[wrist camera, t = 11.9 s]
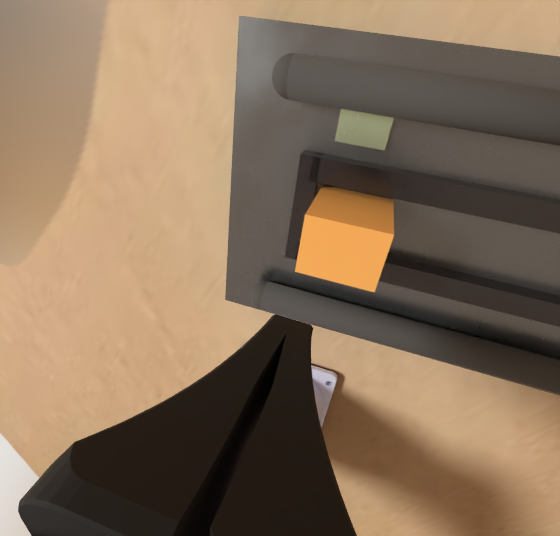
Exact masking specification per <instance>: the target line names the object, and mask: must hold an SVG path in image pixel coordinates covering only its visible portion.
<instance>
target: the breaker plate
mask: <svg viewBox="0 0 560 536" xmlns="http://www.w3.org/2000/svg"><path fill="white" fill-rule="evenodd" d="M289 53H298V54H305V55H312V56H319V57H326V58H333V59H340V60H347V61H354V62H361V63H368V64H375V65H382V66H389V67H396V68H402V69H409V70H416V71H423V72H430V73H437V74H444V75H451V76H458V77H465V78H472V79H479V80H486V81H493V82H500V83H507V84H514V85H521V86H528V87H535V88H541V89H548V90H555V91H560V57H558V56H550V55H542V54H534V53H527V52H519V51H511V50H503V49H495V48H488V47H480V46H472V45H464V44H456V43H448V42H441V41H433V40H425V39H417V38H409V37H401V36H394V35H386V34H378V33H370V32H362V31H355V30H347V29H339V28H331V27H323V26H315V25H308V24H300V23H292V22H284V21H276V20H268V19H261V18H253V17H245V16H239V30H238V51H237V71H236V92H235V112H234V133H233V154H232V174H231V195H230V216H229V236H228V257H227V277H226V298H225V300H228V301H232V302H235V303H239V304H242V305H245V306H249V307H252V308H256V309H259V308H257V307H256V306H255V305H254V304H253V302H252V300H251V290H252V288H253V287H254V286H255V285H256V284H257V283H259V282H261V281H269V282H273V283H276V284H280V285H284V286H287V287H291V288H295V289H298V290H302V291H306V292H310V293H313V294H317V295H321V296H324V297H328V298H332V299H336V300H339V301H343V302H347V303H350V304H354V305H358V306H362V307H365V308H369V309H373V310H376V311H380V312H384V313H388V314H391V315H395V316H399V317H402V318H406V319H410V320H414V321H417V322H421V323H425V324H428V325H432V326H436V327H440V328H443V329H447V330H451V331H454V332H458V333H462V334H466V335H469V336H473V337H477V338H480V339H484V340H488V341H492V342H495V343H499V344H503V345H506V346H510V347H514V348H518V349H521V350H525V351H529V352H532V353H536V354H540V355H544V356H547V357H551V358H555V359H558V360H560V146H558V145H552V144H546V143H540V142H534V141H528V140H522V139H516V138H510V137H505V136H499V135H493V134H487V133H481V132H475V131H469V130H463V129H457V128H451V127H446V126H440V125H434V124H428V123H422V122H416V121H410V120H404V119H398V118H392V117H387V116H381V115H375V114H369V113H363V112H357V111H351V110H345V109H339V108H333V107H327V106H322V105H316V104H310V103H304V102H298V101H292V100H288V99H285V98H283V97H281V96H280V95H279V94H278V93H277V92H276V90H275V88H274V86H273V82H272V72H273V68H274V66H275V64H276V62H277V61H278V60H279V59H280V58H281V57H282V56H284V55H286V54H289ZM323 184H324V185H328V186H333V187H338V188H343V189H347V190H352V191H357V192H362V193H366V194H371V195H376V196H381V197H385V198H390V199H393V210H394V237H393V240H392V243H391V246H390V249H389V252H388V255H387V257H386V260H385V263H384V266H383V269H382V272H381V275H380V278H379V281H378V284H377V287H376V290H375V292H371V291H367V290H363V289H359V288H356V287H352V286H348V285H344V284H340V283H336V282H333V281H329V280H325V279H321V278H317V277H313V276H310V275H306V274H302V273H298V272H295V268H296V262H297V257H298V251H299V245H300V240H301V234H302V228H303V223H304V217H305V214H306V212H307V210H308V209H309V207H310V205H311V204H312V202H313V200H314V199H315V197H316V196H317V194H318V192H319V191H320V189H321V187H322V186H323ZM259 310H262V309H259ZM263 311H266V310H263ZM266 312H269V311H266ZM270 313H273V312H270ZM273 314H276V313H273ZM277 315H280V314H277ZM280 316H283V315H280ZM284 317H287V316H284ZM287 318H290V317H287ZM291 319H294V318H291ZM294 320H297V319H294ZM298 321H301V320H298ZM301 322H304V321H301ZM305 323H308V322H305ZM308 324H311V323H308ZM312 325H315V324H312ZM315 326H318V325H315ZM319 327H322V326H319ZM322 328H325V327H322ZM326 329H329V328H326ZM329 330H332V329H329ZM333 331H336V330H333ZM336 332H339V331H336ZM340 333H343V332H340ZM343 334H346V333H343ZM347 335H350V334H347ZM350 336H353V335H350ZM354 337H357V336H354ZM357 338H360V337H357ZM361 339H364V338H361ZM364 340H367V339H364ZM368 341H371V340H368ZM371 342H374V341H371ZM375 343H378V342H375ZM378 344H381V343H378ZM382 345H385V344H382ZM385 346H388V345H385ZM389 347H392V346H389ZM392 348H395V347H392ZM396 349H399V348H396ZM399 350H402V349H399ZM403 351H406V350H403ZM406 352H409V351H406ZM410 353H413V352H410ZM413 354H416V353H413ZM417 355H420V354H417ZM420 356H423V355H420ZM424 357H427V356H424ZM427 358H430V357H427ZM431 359H434V358H431ZM434 360H437V359H434ZM438 361H441V360H438ZM441 362H444V361H441ZM445 363H448V362H445ZM448 364H451V363H448ZM452 365H455V364H452ZM455 366H458V365H455ZM459 367H462V366H459ZM462 368H465V367H462ZM466 369H469V368H466ZM469 370H472V369H469ZM473 371H476V370H473ZM476 372H479V371H476ZM480 373H483V372H480ZM483 374H486V373H483ZM487 375H490V374H487ZM490 376H493V375H490ZM494 377H497V376H494ZM497 378H500V377H497ZM501 379H504V378H501ZM504 380H507V379H504ZM508 381H511V380H508ZM511 382H514V381H511ZM515 383H518V382H515ZM518 384H521V383H518ZM522 385H525V384H522ZM525 386H528V385H525ZM529 387H532V386H529ZM532 388H535V387H532ZM536 389H539V388H536ZM539 390H542V389H539ZM543 391H546V390H543ZM546 392H549V391H546ZM550 393H553V392H550ZM553 394H556V393H553ZM557 395H560V394H557Z"/></svg>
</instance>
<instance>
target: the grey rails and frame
mask: <svg viewBox="0 0 560 536" xmlns="http://www.w3.org/2000/svg"><path fill="white" fill-rule="evenodd" d="M272 82H273V86H274V88H275V90H276V92H277V93H278V94H279V95H280V96H281V97H283V98H285V99H288V100H292V101H298V102H304V103H310V104H316V105H322V106H327V107H333V108H339V109H345V110H351V111H357V112H363V113H369V114H375V115H381V116H387V117H392V118H398V119H404V120H410V121H416V122H422V123H428V124H434V125H440V126H446V127H451V128H457V129H463V130H469V131H475V132H481V133H487V134H493V135H499V136H505V137H510V138H516V139H522V140H528V141H534V142H540V143H546V144H552V145H558V146H560V91H555V90H548V89H541V88H535V87H528V86H521V85H514V84H507V83H500V82H493V81H486V80H479V79H472V78H465V77H458V76H451V75H444V74H437V73H430V72H423V71H416V70H409V69H402V68H396V67H389V66H382V65H375V64H368V63H361V62H354V61H347V60H340V59H333V58H326V57H319V56H312V55H305V54H298V53H289V54H286V55H284V56H282V57H281V58H280V59H279V60H278V61H277V62H276V64H275V66H274V68H273V72H272ZM251 300H252V302H253V304H254V305H255V306H256V307H257V308H259V309H262V310H266V311H269V312H273V313H276V314H280V315H283V316H287V317H290V318H294V319H297V320H301V321H304V322H308V323H311V324H315V325H318V326H322V327H325V328H329V329H332V330H336V331H339V332H343V333H346V334H350V335H353V336H357V337H360V338H364V339H367V340H371V341H374V342H378V343H381V344H385V345H388V346H392V347H395V348H399V349H402V350H406V351H409V352H413V353H416V354H420V355H423V356H427V357H430V358H434V359H437V360H441V361H444V362H448V363H451V364H455V365H458V366H462V367H465V368H469V369H472V370H476V371H479V372H483V373H486V374H490V375H493V376H497V377H500V378H504V379H507V380H511V381H514V382H518V383H521V384H525V385H528V386H532V387H535V388H539V389H542V390H546V391H549V392H553V393H556V394H560V360H558V359H555V358H551V357H547V356H544V355H540V354H536V353H532V352H529V351H525V350H521V349H518V348H514V347H510V346H506V345H503V344H499V343H495V342H492V341H488V340H484V339H480V338H477V337H473V336H469V335H466V334H462V333H458V332H454V331H451V330H447V329H443V328H440V327H436V326H432V325H428V324H425V323H421V322H417V321H414V320H410V319H406V318H402V317H399V316H395V315H391V314H388V313H384V312H380V311H376V310H373V309H369V308H365V307H362V306H358V305H354V304H350V303H347V302H343V301H339V300H336V299H332V298H328V297H324V296H321V295H317V294H313V293H310V292H306V291H302V290H298V289H295V288H291V287H287V286H284V285H280V284H276V283H273V282H269V281H261V282H259V283H257V284H256V285H255V286H254V287H253V288H252V290H251Z"/></svg>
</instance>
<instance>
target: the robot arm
mask: <svg viewBox="0 0 560 536" xmlns="http://www.w3.org/2000/svg"><path fill="white" fill-rule="evenodd" d="M312 331H313V328H312V326H311V325H310V324H306V323H303V322H300V321H296V320H293V319H290V318H287V317H283V316H280V315H277V314H276V315H273V316H272V317H271V318H270V319H269V321H268V322H267V323H266V324H265V325H264V326H263V327H262V328H261V329H260V330H259V331H258V332H257V333H256V334H255V335H254V336H253V337H252V338H251V339H250V340H249V341H248V342H247V343H245V344H244V345H242V346H241V348H240V349H239V350H238V351H236V352H235V353H234V354H233V355H232V356H230V357H229V358H228V359H227V360H225V361H224V362H223V363H221V364H220V365H219V366H218V367H216V368H215V369H214V370H212V371H211V372H209V373H208V374H207V375H205V376H204V377H202V378H201V379H199V380H198V381H196V382H195V383H193V384H192V385H190V386H189V387H187V388H185V389H184V390H182V391H180V392H179V393H177V394H175V395H174V396H172V397H170V398H169V399H167V400H165V401H163V402H161V403H160V404H158V405H156V406H154V407H152V408H150V409H148V410H146V411H144V412H142V413H140V414H138V415H136V416H134V417H132V418H130V419H128V420H126V421H123V422H121V423H119V424H117V425H115V426H112V427H110V428H107V429H105V430H103V431H100V432H98V433H96V434H93V435H91V436H88V437H86V438H84V439H81V440H79V441H76V442H74V443H73V444H72V445H71V446H70V447H69V448H68V449H67V450H66V451H65V452H64V453H63V454H62V455H61V456H60V457H59V458H58V459H57V460H56V461H55V462H54V463H53V464H52V465H51V466H50V467H49V468H48V469H47V470H46V471H45V473H44V474H43V475H42V476H41V477H40V478H39V480H38V481H37V482H36V483H35V484H34V486H32V488H31V489H30V490H29V491H28V492H27V493H26V494H25V496H24V497H23V498H22V499H21V500H20V502H19V508H18V512H19V514H20V517H21V519H22V520H23V522H24V524H25V525H26V527H27V529H28V530H29V532H30V533H31V535H32V536H357V535H356V533H355V530H354V528H353V525H352V522H351V520H350V517H349V515H348V512H347V509H346V507H345V504H344V501H343V498H342V496H341V493H340V490H339V487H338V484H337V481H336V478H335V475H334V471H333V468H332V465H331V462H330V459H329V456H328V452H327V449H326V445H325V441H324V437H323V433H322V429H321V428H322V425H323V422H324V419H325V416H326V413H327V410H328V407H329V404H330V401H331V398H332V394H333V391H334V388H335V385H336V382H337V374H336V373H334V372H332V371H329V370H326V369H322V368H319V367H316V366H313V365H311V337H312ZM328 381H330V382H328Z"/></svg>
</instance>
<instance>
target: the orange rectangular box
mask: <svg viewBox="0 0 560 536" xmlns="http://www.w3.org/2000/svg"><path fill="white" fill-rule="evenodd" d="M393 237H394V210H393V199H390V198H385V197H381V196H376V195H371V194H366V193H362V192H357V191H352V190H347V189H343V188H338V187H333V186H328V185H324V184H323V186H322V187H321V189H320V191H319V192H318V194H317V196H316V197H315V199H314V200H313V202H312V204H311V205H310V207H309V209H308V210H307V212H306V214H305V217H304V223H303V228H302V234H301V240H300V245H299V251H298V257H297V262H296V268H295V272H298V273H302V274H306V275H310V276H313V277H317V278H321V279H325V280H329V281H333V282H336V283H340V284H344V285H348V286H352V287H356V288H359V289H363V290H367V291H371V292H375V290H376V287H377V284H378V281H379V278H380V275H381V272H382V269H383V266H384V263H385V260H386V257H387V255H388V252H389V249H390V246H391V243H392V240H393Z"/></svg>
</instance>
